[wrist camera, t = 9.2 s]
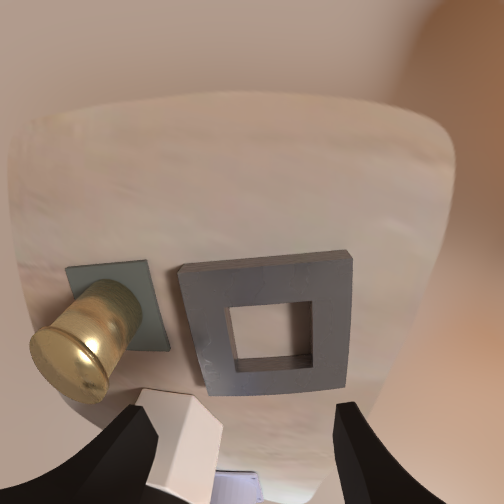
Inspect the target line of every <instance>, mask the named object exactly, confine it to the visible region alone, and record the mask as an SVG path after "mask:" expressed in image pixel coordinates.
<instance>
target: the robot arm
mask: <svg viewBox="0 0 504 504" xmlns="http://www.w3.org/2000/svg"><path fill="white" fill-rule="evenodd" d="M158 439H159V436H158V434H157V432H156V430H155V429H154V427H153V425H152V423H151V421H150V419H149V417H148V415H147V413H146V412H145V410H144V408H143V406H137V405H128V406H127V407H126V408H125V409H124V410H123V411H122V412H121V413H120V414H119V415H118V416H117V417H116V418H115V419H114V420H113V421H112V422H111V423H110V424H109V425H108V426H107V427H106V428H105V429H104V430H103V431H102V432H101V433H100V434H99V435H98V436H97V437H95V438H94V439H93V440H92V441H91V442H90V443H89V444H87V445H86V446H85V447H84V448H83V449H82V450H80V451H79V452H78V453H77V454H75V455H74V456H73V457H71V458H70V459H69V460H67V461H66V462H64V463H63V464H61V465H60V466H58V467H56V468H55V469H53V470H51V471H49V472H47V473H45V474H43V475H42V476H40V477H38V478H35V479H33V480H30V481H28V482H25V483H22V484H19V485H16V486H13V487H9V488H5V489H0V504H139V503H140V499H141V496H142V493H143V491H144V488H145V485H146V482H147V479H148V476H149V473H150V471H151V468H152V465H153V462H154V459H155V455H156V450H157V444H158ZM333 444H334V453H335V460H336V465H337V469H338V474H339V478H340V482H341V487H342V491H343V496H344V500H345V504H446V503H445V502H443V501H442V500H441V499H439V498H438V497H436V496H435V495H434V494H432V493H431V492H430V491H428V490H427V489H426V488H425V487H423V486H422V485H421V484H420V483H419V482H418V481H416V480H415V479H414V478H413V477H412V476H411V475H410V474H409V473H408V472H407V471H406V470H405V469H404V468H403V467H402V466H401V465H400V464H399V463H398V462H397V460H396V459H395V458H394V457H393V456H392V455H391V454H390V453H389V451H388V450H387V449H386V447H385V446H384V445H383V443H382V442H381V441H380V440H379V438H378V437H377V436H376V434H375V433H374V431H373V430H372V429H371V427H370V426H369V424H368V423H367V421H366V420H365V418H364V416H363V415H362V413H361V411H360V410H359V408H358V406H357V404H356V403H355V402H346V403H340V404H336V413H335V421H334V429H333ZM263 501H264V499H263V495H262V491H261V487H260V483H259V479H258V475H257V474H256V473H247V472H216V471H215V477H214V483H213V488H212V494H211V500H210V504H256V502H263Z"/></svg>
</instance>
